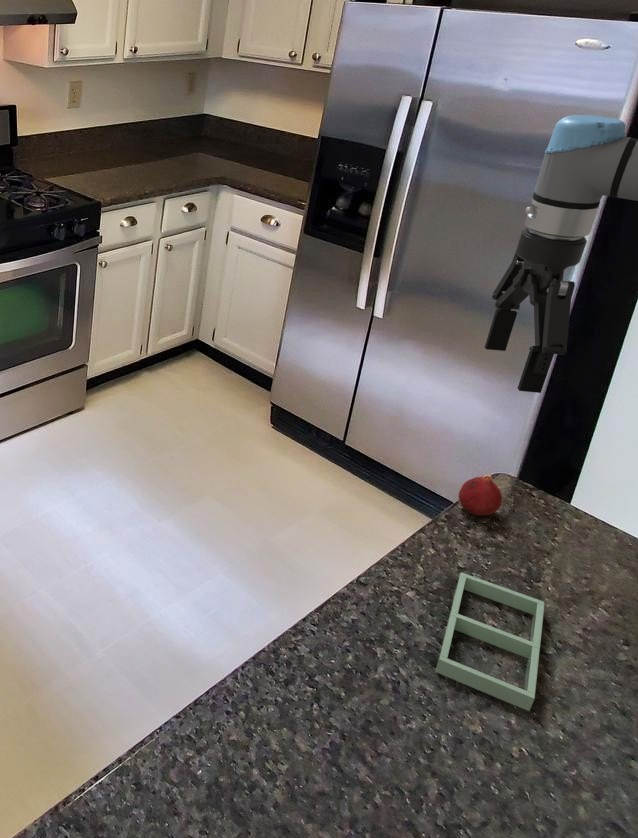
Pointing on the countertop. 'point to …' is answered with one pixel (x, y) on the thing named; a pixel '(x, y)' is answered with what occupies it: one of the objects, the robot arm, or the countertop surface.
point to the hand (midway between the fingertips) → (510, 369)
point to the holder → (494, 641)
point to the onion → (480, 496)
